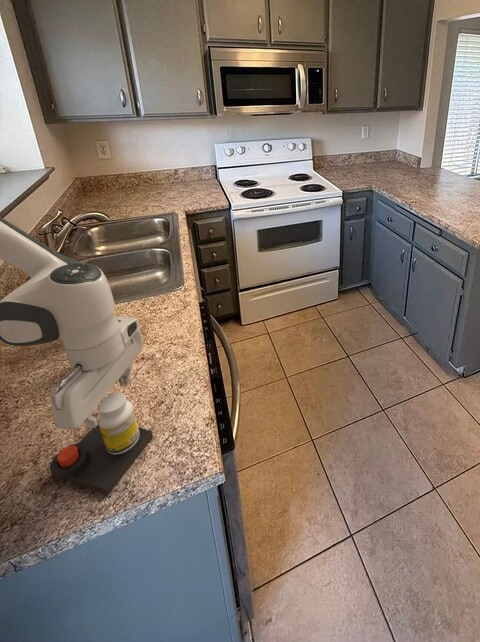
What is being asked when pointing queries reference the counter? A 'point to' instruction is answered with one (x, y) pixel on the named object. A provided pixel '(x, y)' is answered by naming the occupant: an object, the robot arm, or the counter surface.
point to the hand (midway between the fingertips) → (111, 402)
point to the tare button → (68, 456)
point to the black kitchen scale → (99, 462)
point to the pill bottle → (118, 424)
